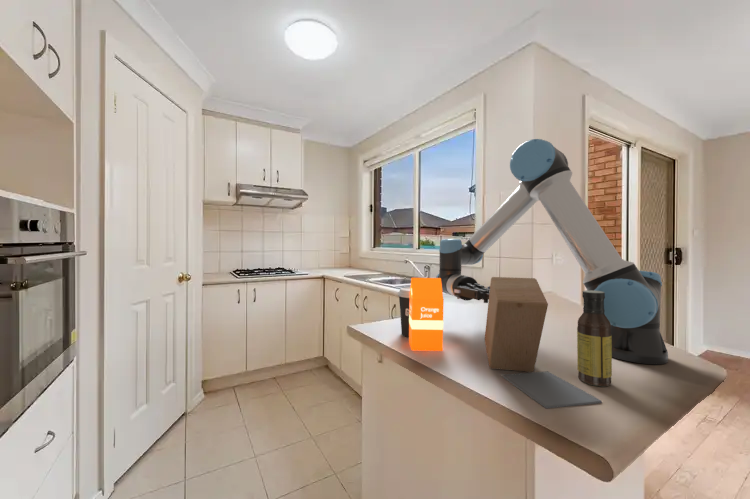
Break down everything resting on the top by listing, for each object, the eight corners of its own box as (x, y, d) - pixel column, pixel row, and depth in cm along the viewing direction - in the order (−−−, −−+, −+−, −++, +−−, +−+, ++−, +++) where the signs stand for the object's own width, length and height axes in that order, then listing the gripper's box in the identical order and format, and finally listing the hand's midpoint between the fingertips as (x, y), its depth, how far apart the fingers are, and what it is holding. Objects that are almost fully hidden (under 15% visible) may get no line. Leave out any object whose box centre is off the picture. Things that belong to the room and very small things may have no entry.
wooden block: (534, 373, 73) (549, 303, 64) (489, 369, 75) (497, 301, 66) (524, 342, 82) (536, 277, 73) (484, 339, 84) (490, 276, 75)
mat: (501, 376, 71) (501, 374, 71) (547, 372, 73) (547, 371, 73) (546, 408, 57) (546, 406, 57) (601, 402, 60) (601, 400, 60)
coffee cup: (395, 338, 99) (396, 290, 99) (398, 330, 108) (399, 286, 108) (426, 340, 97) (427, 291, 97) (426, 331, 107) (427, 287, 107)
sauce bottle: (602, 376, 72) (605, 289, 71) (617, 389, 65) (620, 294, 65) (571, 374, 73) (573, 288, 73) (583, 386, 67) (585, 292, 66)
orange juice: (408, 341, 95) (409, 276, 95) (437, 342, 95) (438, 276, 95) (411, 350, 88) (412, 279, 87) (443, 351, 88) (444, 279, 87)
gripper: (480, 298, 103) (528, 314, 80) (443, 299, 100) (481, 315, 77) (481, 275, 103) (529, 284, 79) (443, 275, 100) (482, 285, 77)
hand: (505, 300), depth 78 cm, fingers closed
